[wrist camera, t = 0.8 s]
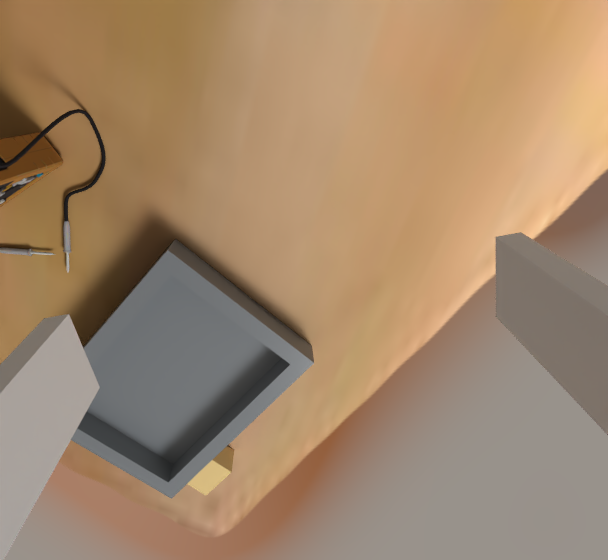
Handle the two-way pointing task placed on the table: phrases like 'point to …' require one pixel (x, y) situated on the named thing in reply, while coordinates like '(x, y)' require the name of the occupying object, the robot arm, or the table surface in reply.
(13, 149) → the multimeter
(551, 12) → the table surface
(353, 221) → the table surface
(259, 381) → the tray
